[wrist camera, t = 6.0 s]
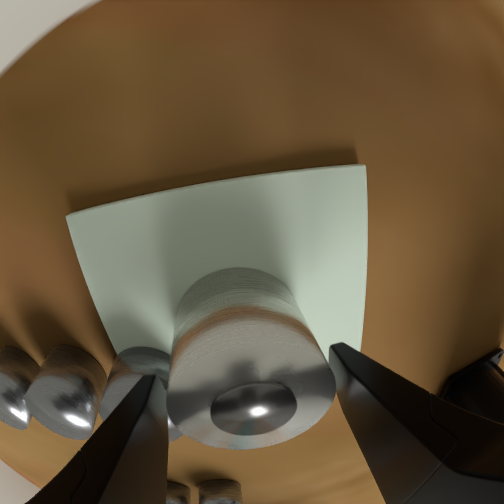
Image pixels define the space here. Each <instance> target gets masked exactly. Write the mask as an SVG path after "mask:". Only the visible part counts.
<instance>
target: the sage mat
mask: <svg viewBox="0 0 504 504" xmlns="http://www.w3.org/2000/svg"><path fill="white" fill-rule="evenodd" d="M66 220H67V224H68V228H69V231H70V235H71V238H72V241H73V245H74V248H75V251H76V254H77V257H78V260H79V263H80V266H81V269H82V272H83V275H84V278H85V280H86V283H87V286H88V289H89V291H90V294H91V296H92V299H93V301H94V304H95V306H96V309H97V311H98V314H99V316H100V318H101V321H102V323H103V325H104V328H105V330H106V332H107V334H108V336H109V339H110V341H111V343H112V345H113V347H114V349H115V351H116V353H117V355H118V354H119V353H120V352H122V351H123V350H125V349H127V348H131V347H138V346H144V347H152V348H156V349H159V350H162V351H164V352H166V353H168V354H170V355H171V350H172V342H173V334H174V327H175V320H176V313H177V308H178V305H179V303H180V300H181V298H182V297H183V295H184V293H185V292H186V291H187V290H188V289H189V287H190V286H192V285H193V284H194V283H195V282H196V281H198V280H199V279H201V278H202V277H204V276H206V275H208V274H210V273H212V272H215V271H218V270H222V269H226V268H234V267H246V268H253V269H257V270H261V271H264V272H266V273H269V274H271V275H272V276H274V277H276V278H277V279H279V280H280V281H281V282H283V283H284V285H285V286H286V287H287V288H288V289H289V290H290V292H291V293H292V295H293V297H294V299H295V301H296V303H297V305H298V306H299V308H300V310H301V312H302V314H303V316H304V318H305V320H306V322H307V324H308V325H309V327H310V329H311V331H312V333H313V335H314V337H315V339H316V341H317V343H318V345H319V347H320V348H321V350H322V352H323V354H324V356H325V358H326V360H327V362H328V358H329V346H330V345H331V344H335V343H339V342H344V343H346V344H347V345H349V346H351V347H352V348H354V349H356V350H357V351H359V352H360V348H361V339H362V330H363V319H364V307H365V293H366V276H367V244H368V209H367V178H366V165H362V164H351V165H338V166H327V167H317V168H307V169H298V170H289V171H281V172H273V173H266V174H259V175H251V176H245V177H238V178H232V179H225V180H219V181H213V182H207V183H202V184H196V185H191V186H185V187H180V188H175V189H170V190H165V191H160V192H155V193H151V194H146V195H141V196H137V197H132V198H128V199H124V200H120V201H115V202H111V203H107V204H103V205H99V206H95V207H91V208H88V209H84V210H80V211H76V212H73V213H70V214H69V215H67V216H66Z"/></svg>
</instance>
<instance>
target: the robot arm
mask: <svg viewBox="0 0 504 504" xmlns="http://www.w3.org/2000/svg"><path fill="white" fill-rule="evenodd" d="M503 353H504V350H503V349H502V348H499V349H497V350H496V351H494V352H492V353H491V354H489V355H488V356H486V357H484V358H483V359H481V360H479V361H478V362H476V363H474V364H473V365H471V366H469V367H467V368H466V369H464V370H462V371H460V372H458V373H457V374H455V375H453V376H451V377H450V378H449V379H448V381H447V382H446V385H445V387H444V389H443V391H442V394H441V396H440V398H439V397H438V396H436V395H434V394H432V393H429V392H428V391H427V390H425V389H423V388H421V387H419V386H418V385H416V384H414V383H412V382H411V381H409V380H407V379H405V378H404V377H402V376H400V375H398V374H397V373H395V372H393V371H391V370H390V369H388V368H386V367H385V366H383V365H381V364H379V363H378V362H376V361H374V360H373V359H371V358H369V357H368V356H366V355H364V354H362V353H361V352H359V351H357V350H356V349H354V348H352V347H351V346H349V345H347V344H346V343H344V342H339V343H335V344H331V345H330V346H329V358H328V364H329V366H330V368H331V370H332V372H333V374H334V376H335V380H336V392H337V396H338V399H339V402H340V405H341V408H342V410H343V413H344V415H345V417H346V419H347V422H348V424H349V426H350V428H351V430H352V432H353V434H354V436H355V438H356V440H357V443H358V445H359V447H360V449H361V451H362V453H363V455H364V457H365V459H366V462H367V464H368V466H369V468H370V470H371V472H372V474H373V476H374V479H375V481H376V483H377V485H378V487H379V489H380V492H381V494H382V496H383V498H384V500H385V502H386V504H504V371H503V370H502V369H501V368H500V367H499V366H498V364H499V362H500V360H501V357H502V355H503ZM166 396H167V395H166V392H165V390H164V387H163V385H162V383H161V381H160V379H159V377H158V376H157V375H156V374H146V375H143V376H142V377H141V378H140V379H139V381H138V382H137V383H136V384H135V385H134V386H133V388H132V389H131V390H130V391H129V392H128V394H127V395H126V396H125V397H124V398H123V399H122V401H121V402H120V403H119V404H118V405H117V406H116V408H115V409H114V410H113V411H112V412H111V413H110V415H109V416H108V417H107V418H106V419H105V421H104V422H103V423H102V424H101V425H100V426H99V428H98V429H97V430H96V431H95V432H94V433H93V435H92V436H91V437H90V438H89V439H88V441H87V442H86V443H85V444H84V445H83V446H82V448H81V449H80V450H81V451H78V452H77V453H76V455H75V456H74V457H73V458H72V459H71V460H70V461H69V463H68V464H67V465H66V466H65V467H64V468H63V469H62V470H61V471H60V472H59V473H58V474H57V475H56V476H55V477H54V478H53V479H52V480H51V481H50V482H49V483H48V484H47V485H46V486H44V487H43V488H42V489H41V490H40V491H39V492H38V493H37V494H36V495H35V496H34V497H33V498H31V499H30V500H29V501H28V502H26V503H25V504H166V486H167V463H168V446H169V434H168V414H167V409H166Z"/></svg>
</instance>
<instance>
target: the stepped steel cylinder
mask: <svg viewBox="0 0 504 504" xmlns="http://www.w3.org/2000/svg"><path fill="white" fill-rule="evenodd" d="M335 393H336V380H335V376H334V374H333V372H332V370H331V368H330V366H329V364H328V362H327V360H326V358H325V356H324V354H323V352H322V350H321V348H320V347H319V345H318V343H317V341H316V339H315V337H314V335H313V333H312V331H311V329H310V327H309V325H308V324H307V322H306V320H305V318H304V316H303V314H302V312H301V310H300V308H299V306H298V305H297V303H296V301H295V299H294V297H293V295H292V293H291V292H290V290H289V289H288V288H287V287H286V286H285V285H284V283H283V282H281V281H280V280H279V279H277V278H276V277H274V276H272V275H271V274H269V273H266V272H264V271H261V270H257V269H253V268H246V267H234V268H226V269H222V270H218V271H215V272H212V273H210V274H208V275H206V276H204V277H202V278H201V279H199V280H198V281H196V282H195V283H194V284H193V285H192V286H190V287H189V289H188V290H187V291H186V292H185V293H184V295H183V297H182V298H181V300H180V303H179V305H178V308H177V313H176V320H175V327H174V334H173V342H172V350H171V358H170V367H169V376H168V386H167V396H166V409H167V413H168V415H169V418H170V420H171V421H172V423H173V424H174V425H175V427H176V428H177V429H178V430H179V431H181V432H182V433H183V434H185V435H186V436H188V437H189V438H191V439H193V440H195V441H197V442H200V443H202V444H205V445H208V446H212V447H217V448H223V449H234V450H244V449H255V448H262V447H267V446H271V445H275V444H278V443H281V442H284V441H286V440H289V439H291V438H293V437H295V436H297V435H299V434H301V433H303V432H304V431H306V430H307V429H309V428H310V427H312V426H313V425H314V424H315V423H317V422H318V421H319V420H320V419H321V418H322V417H323V416H324V414H325V413H326V412H327V411H328V409H329V408H330V406H331V404H332V402H333V400H334V397H335Z"/></svg>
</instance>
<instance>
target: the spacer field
mask: <svg viewBox="0 0 504 504" xmlns="http://www.w3.org/2000/svg"><path fill="white" fill-rule="evenodd" d="M170 358H171V355H170V354H168V353H166V352H164V351H162V350H159V349H156V348H152V347H144V346H138V347H131V348H127V349H125V350H123V351H122V352H120V353H119V354H118V355H117V354H116V357H115V360H114V363H113V366H112V368H111V371H110V374H109V377H108V380H107V377H106V374H105V372H104V370H103V368H102V367H101V365H100V364H99V363H98V362H97V361H96V360H95V359H94V358H93V357H92V356H90V355H89V354H87V353H86V352H84V351H82V350H81V349H78V348H76V347H73V346H69V345H58V346H55V347H53V348H52V349H51V350H50V352H49V353H48V355H47V357H46V358H45V360H44V362H43V363H42V365H41V367H39V366H38V365H37V364H36V363H35V362H34V361H33V360H32V359H31V358H30V357H29V356H28V355H27V354H25V353H24V352H22V351H21V350H19V349H17V348H14V347H11V346H6V347H4V348H2V350H1V351H0V420H1V421H3V422H4V423H6V424H8V425H9V426H11V427H14V428H16V429H20V430H24V429H26V428H27V427H28V424H29V422H30V420H31V418H32V415H33V416H34V417H35V418H36V419H37V420H38V421H39V422H40V423H41V424H43V425H44V426H45V427H47V428H48V429H50V430H51V431H53V432H55V433H57V434H59V435H62V436H64V437H67V438H71V439H77V440H83V439H87V438H89V437H90V436H91V434H92V431H93V428H94V424H95V421H96V417H97V414H98V411H99V413H100V416H101V418H102V419H103V421H105V419H106V418H107V417H108V416H109V415H110V413H111V412H112V411H113V410H114V409H115V408H116V406H117V405H118V404H119V403H120V402H121V401H122V399H123V398H124V397H125V396H126V395H127V394H128V392H129V391H130V390H131V389H132V388H133V386H134V385H135V384H136V383H137V382H138V381H139V379H140V378H141V377H142V376H143V375H146V374H156V375H157V376H158V377H159V379H160V381H161V383H162V385H163V387H164V390H165V392H166V395H167V386H168V376H169V367H170ZM167 414H168V413H167ZM168 434H169V442H171V441H174V440H176V439H178V438H179V437H181V436H182V435H183V433H182V432H181V431H179V430H178V429H177V428H176V427H175V425H174V424H173V423H172V421H171V420H170V418H169V415H168ZM198 489H199V504H243V501H242V493H241V486H240V484H239V483H237V482H235V481H231V480H210V481H205V482H202V483H200V484H199V486H198ZM166 504H190V489H189V488H188V487H187V486H184V485H182V484H178V483H173V482H167V486H166Z"/></svg>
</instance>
